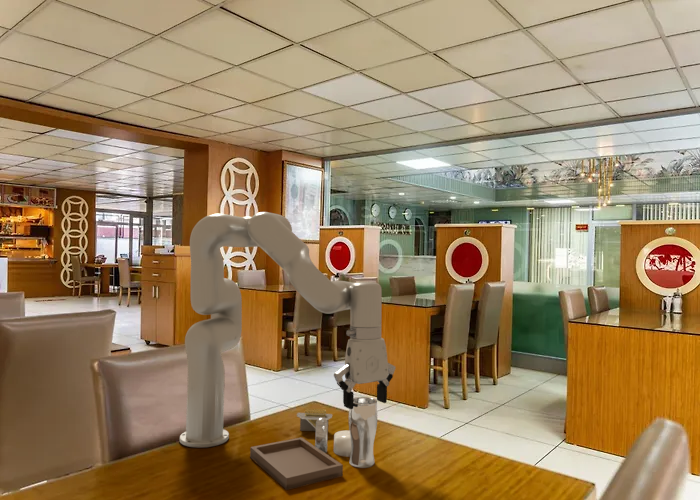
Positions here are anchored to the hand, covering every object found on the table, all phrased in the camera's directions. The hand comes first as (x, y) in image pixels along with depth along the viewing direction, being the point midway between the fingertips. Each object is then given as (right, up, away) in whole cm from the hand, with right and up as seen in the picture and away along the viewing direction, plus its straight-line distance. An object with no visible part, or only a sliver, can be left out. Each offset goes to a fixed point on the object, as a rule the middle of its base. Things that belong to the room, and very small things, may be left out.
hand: (365, 404), depth 124 cm
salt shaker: (-11, -14, +7) cm, 19 cm away
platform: (-14, -15, +21) cm, 29 cm away
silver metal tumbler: (-1, -14, 0) cm, 14 cm away
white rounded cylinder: (-4, -14, +7) cm, 16 cm away
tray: (-17, -14, -3) cm, 22 cm away
